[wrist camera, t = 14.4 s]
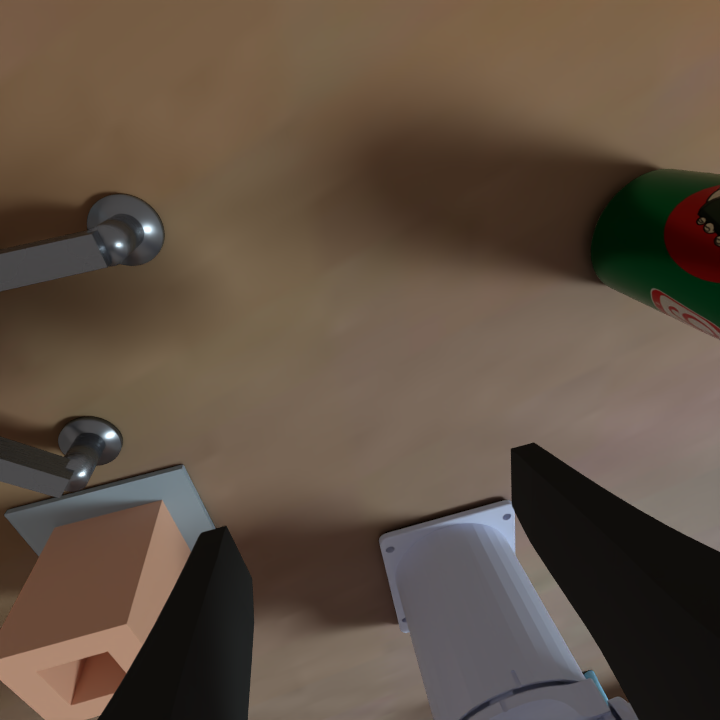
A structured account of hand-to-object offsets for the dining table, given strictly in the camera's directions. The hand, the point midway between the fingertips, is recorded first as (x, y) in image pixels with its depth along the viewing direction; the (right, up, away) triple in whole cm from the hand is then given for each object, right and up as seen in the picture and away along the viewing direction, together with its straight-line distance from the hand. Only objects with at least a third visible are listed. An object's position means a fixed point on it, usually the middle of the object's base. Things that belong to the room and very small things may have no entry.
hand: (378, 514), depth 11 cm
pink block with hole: (-12, -6, +11) cm, 17 cm away
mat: (-12, -5, +11) cm, 17 cm away
